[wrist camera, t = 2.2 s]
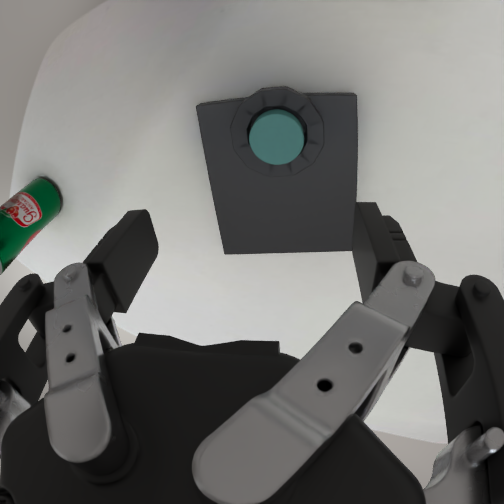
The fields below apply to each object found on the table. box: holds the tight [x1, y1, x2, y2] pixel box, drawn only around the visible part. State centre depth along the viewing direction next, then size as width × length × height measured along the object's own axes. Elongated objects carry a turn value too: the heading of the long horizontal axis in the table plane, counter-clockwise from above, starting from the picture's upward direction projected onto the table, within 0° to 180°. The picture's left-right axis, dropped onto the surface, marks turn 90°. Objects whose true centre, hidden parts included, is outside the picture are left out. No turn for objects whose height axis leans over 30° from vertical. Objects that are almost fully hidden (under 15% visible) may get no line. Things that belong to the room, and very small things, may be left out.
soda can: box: [0, 178, 60, 275], centre depth 24 cm, size 5×5×12 cm
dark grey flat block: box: [196, 87, 358, 254], centre depth 24 cm, size 15×12×3 cm
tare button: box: [249, 109, 304, 165], centre depth 20 cm, size 4×4×2 cm
